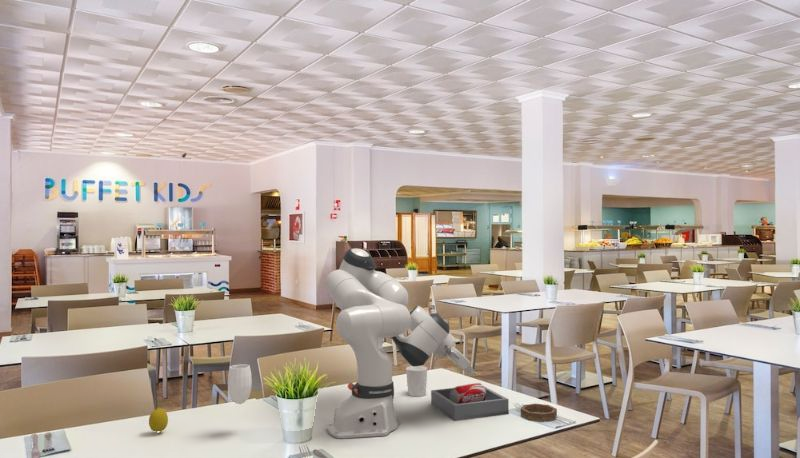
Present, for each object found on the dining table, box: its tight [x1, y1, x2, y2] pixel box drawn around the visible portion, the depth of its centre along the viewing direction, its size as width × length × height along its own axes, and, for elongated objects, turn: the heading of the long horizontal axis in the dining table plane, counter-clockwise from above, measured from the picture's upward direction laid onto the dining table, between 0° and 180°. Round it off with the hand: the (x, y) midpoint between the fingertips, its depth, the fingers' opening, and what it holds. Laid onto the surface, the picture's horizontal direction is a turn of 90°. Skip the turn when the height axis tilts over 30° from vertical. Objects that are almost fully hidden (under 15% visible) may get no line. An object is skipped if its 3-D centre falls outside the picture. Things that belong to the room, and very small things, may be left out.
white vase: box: [227, 363, 253, 405], centre depth 188 cm, size 7×7×21 cm
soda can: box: [449, 382, 486, 404], centre depth 212 cm, size 7×7×12 cm
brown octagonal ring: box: [520, 403, 558, 423], centre depth 201 cm, size 11×11×2 cm
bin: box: [430, 385, 510, 421], centre depth 210 cm, size 20×20×5 cm
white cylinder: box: [406, 365, 428, 397], centre depth 230 cm, size 8×8×10 cm
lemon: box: [148, 407, 169, 432], centre depth 188 cm, size 6×6×8 cm
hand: (470, 370), depth 210 cm, fingers open, 6 cm apart
